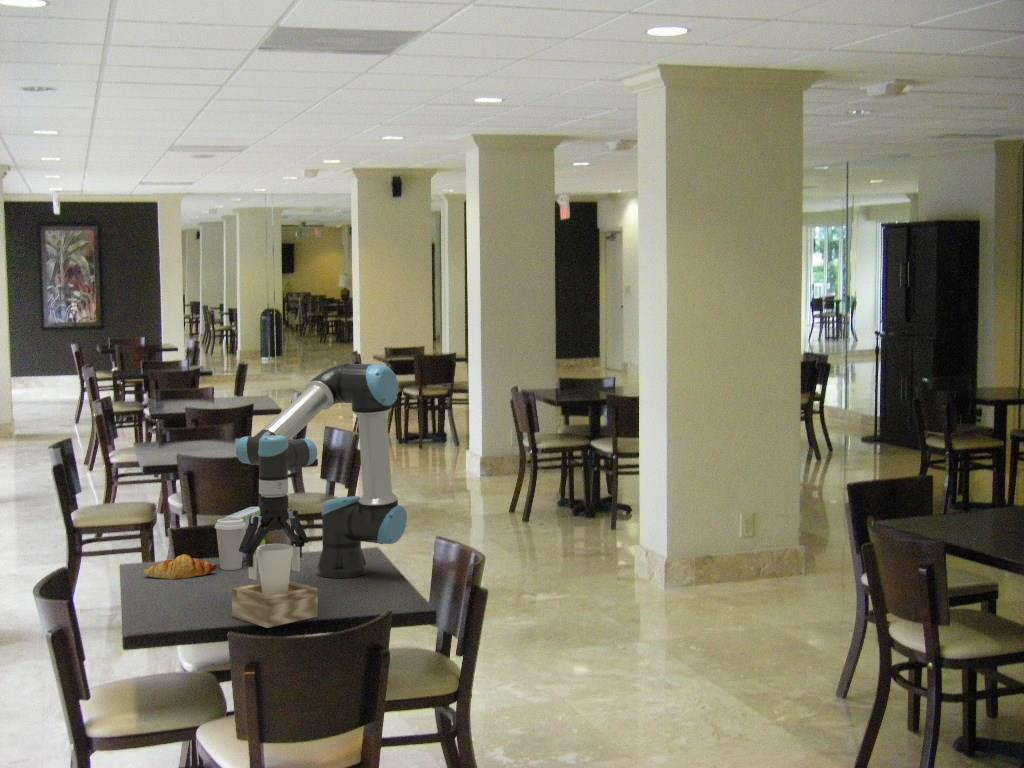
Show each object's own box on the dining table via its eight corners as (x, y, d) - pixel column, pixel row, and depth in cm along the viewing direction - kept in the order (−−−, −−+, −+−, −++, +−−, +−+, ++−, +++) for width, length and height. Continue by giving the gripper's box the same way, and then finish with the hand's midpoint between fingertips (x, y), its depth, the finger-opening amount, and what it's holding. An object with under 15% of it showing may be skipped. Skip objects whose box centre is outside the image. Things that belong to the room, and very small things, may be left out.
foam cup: (258, 601, 320) (257, 551, 319) (255, 593, 329) (254, 544, 328) (295, 598, 323) (294, 549, 322) (291, 590, 331) (290, 542, 330)
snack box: (240, 564, 388) (239, 517, 387) (223, 564, 389) (222, 516, 388) (266, 551, 409) (266, 506, 408) (250, 550, 410) (250, 505, 409)
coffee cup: (250, 564, 388) (250, 517, 387) (240, 571, 378) (240, 523, 377) (221, 564, 389) (220, 517, 388) (210, 570, 379) (210, 522, 378)
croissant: (144, 591, 368) (143, 571, 363) (144, 569, 376) (143, 549, 372) (217, 585, 373) (217, 565, 369) (215, 564, 382) (215, 544, 377)
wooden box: (282, 605, 337) (282, 578, 337) (317, 616, 326) (317, 588, 326) (232, 616, 326) (231, 588, 325) (267, 628, 315) (266, 599, 314)
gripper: (241, 502, 312) (242, 584, 314) (320, 491, 330) (321, 569, 331) (224, 498, 317) (225, 579, 319) (304, 487, 335) (304, 564, 337)
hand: (274, 574), depth 325 cm, fingers open, 13 cm apart
